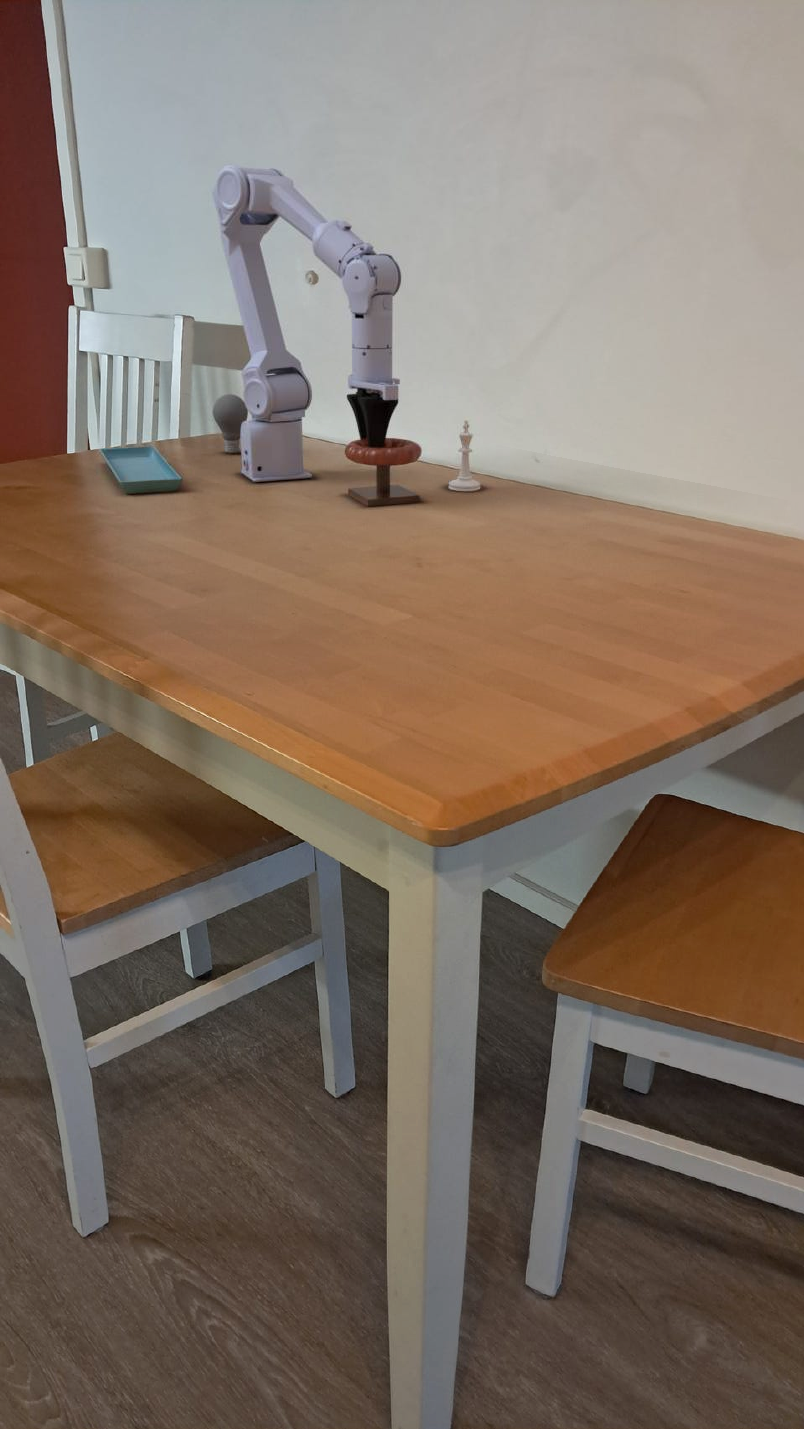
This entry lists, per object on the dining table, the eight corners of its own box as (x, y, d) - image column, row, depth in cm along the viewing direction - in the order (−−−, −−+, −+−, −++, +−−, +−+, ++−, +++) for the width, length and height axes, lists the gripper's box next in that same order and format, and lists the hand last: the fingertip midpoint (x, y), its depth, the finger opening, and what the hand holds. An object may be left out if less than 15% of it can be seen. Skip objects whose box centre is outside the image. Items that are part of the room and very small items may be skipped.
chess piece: (443, 489, 161) (445, 421, 157) (453, 483, 165) (455, 417, 161) (475, 492, 159) (477, 424, 155) (484, 486, 164) (487, 419, 160)
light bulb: (221, 449, 190) (217, 391, 186) (253, 450, 190) (250, 392, 186) (211, 455, 185) (207, 396, 181) (244, 456, 184) (241, 397, 180)
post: (367, 506, 150) (367, 463, 148) (347, 495, 157) (347, 453, 155) (419, 502, 153) (420, 459, 151) (397, 490, 160) (398, 450, 158)
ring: (360, 469, 147) (360, 451, 146) (335, 455, 156) (335, 438, 155) (432, 464, 150) (433, 447, 149) (403, 451, 159) (404, 434, 158)
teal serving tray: (183, 492, 158) (182, 475, 157) (121, 496, 155) (119, 479, 154) (155, 460, 180) (154, 445, 179) (100, 463, 177) (98, 448, 176)
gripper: (419, 350, 146) (417, 451, 151) (379, 342, 158) (379, 435, 163) (371, 352, 143) (371, 454, 149) (334, 343, 155) (335, 438, 161)
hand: (372, 445), depth 156 cm, fingers closed on ring, 2 cm apart
